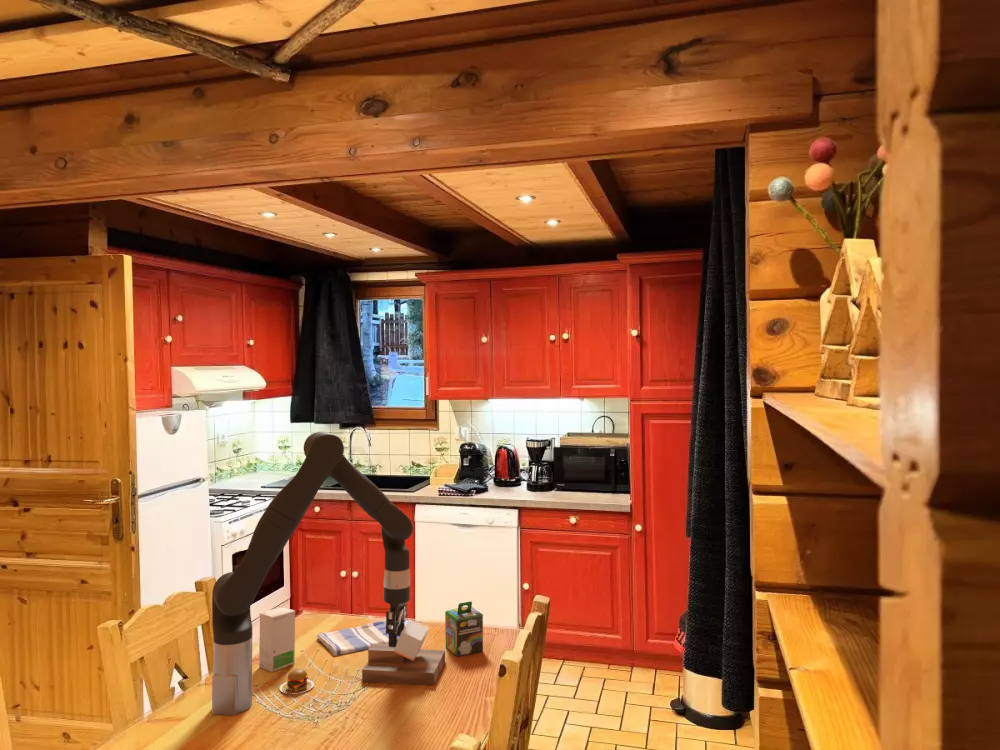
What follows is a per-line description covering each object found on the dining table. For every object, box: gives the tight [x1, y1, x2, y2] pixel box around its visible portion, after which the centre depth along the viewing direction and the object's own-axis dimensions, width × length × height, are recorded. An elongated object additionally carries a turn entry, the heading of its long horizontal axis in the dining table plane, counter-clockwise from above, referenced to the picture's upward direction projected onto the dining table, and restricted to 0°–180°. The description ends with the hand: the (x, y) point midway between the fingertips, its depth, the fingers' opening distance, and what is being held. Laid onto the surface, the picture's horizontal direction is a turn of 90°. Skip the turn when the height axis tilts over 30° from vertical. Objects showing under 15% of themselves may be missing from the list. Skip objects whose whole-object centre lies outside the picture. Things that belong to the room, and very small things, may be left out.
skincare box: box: [258, 607, 296, 673], centre depth 201 cm, size 8×7×16 cm
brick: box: [394, 619, 430, 660], centre depth 197 cm, size 10×6×6 cm, turn 174°
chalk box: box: [444, 601, 484, 657], centre depth 214 cm, size 9×9×15 cm
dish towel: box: [316, 620, 400, 657], centre depth 221 cm, size 17×24×3 cm
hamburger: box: [278, 668, 315, 695], centre depth 187 cm, size 12×12×6 cm
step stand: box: [361, 643, 446, 686], centre depth 197 cm, size 16×20×7 cm
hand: (396, 641), depth 198 cm, fingers open, 8 cm apart
